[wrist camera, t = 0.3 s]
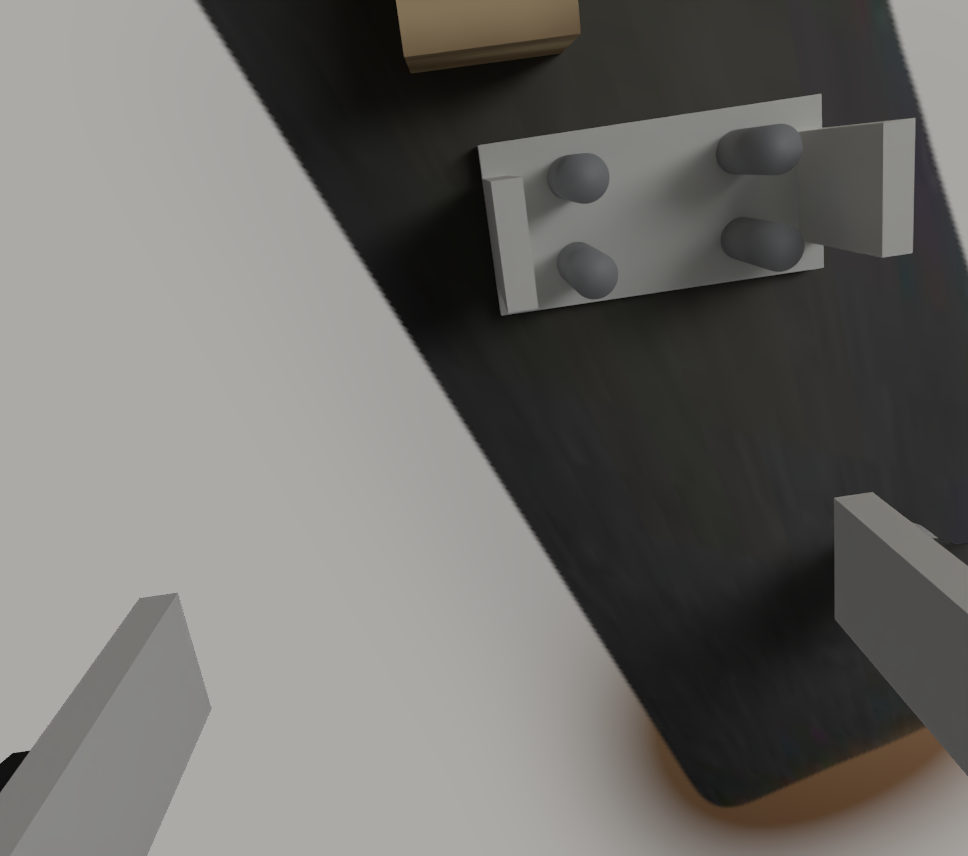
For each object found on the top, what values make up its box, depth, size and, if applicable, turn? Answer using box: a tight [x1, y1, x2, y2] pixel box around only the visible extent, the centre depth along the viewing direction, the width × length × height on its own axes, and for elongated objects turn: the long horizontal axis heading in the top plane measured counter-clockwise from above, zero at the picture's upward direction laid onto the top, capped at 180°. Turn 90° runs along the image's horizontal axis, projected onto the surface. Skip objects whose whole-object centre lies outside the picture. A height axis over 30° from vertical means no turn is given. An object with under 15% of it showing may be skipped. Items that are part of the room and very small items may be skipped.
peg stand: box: [477, 94, 915, 316], centre depth 35 cm, size 8×16×9 cm, turn 98°
